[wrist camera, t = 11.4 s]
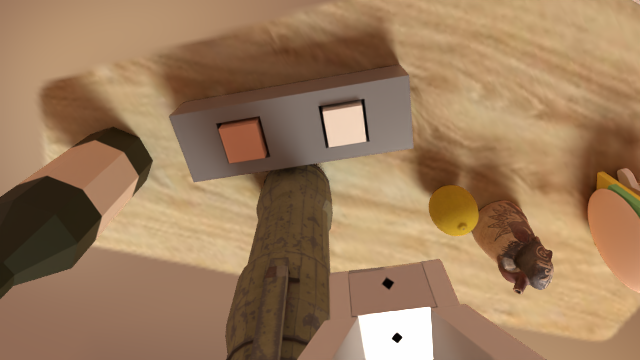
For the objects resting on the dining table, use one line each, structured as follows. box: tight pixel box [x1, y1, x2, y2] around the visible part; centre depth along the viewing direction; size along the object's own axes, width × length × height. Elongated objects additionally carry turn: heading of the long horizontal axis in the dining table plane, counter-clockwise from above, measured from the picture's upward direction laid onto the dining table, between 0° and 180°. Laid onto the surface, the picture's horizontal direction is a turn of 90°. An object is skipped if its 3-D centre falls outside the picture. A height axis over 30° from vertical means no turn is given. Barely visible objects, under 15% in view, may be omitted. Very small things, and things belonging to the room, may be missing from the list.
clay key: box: [218, 116, 268, 164], centre depth 42 cm, size 4×4×4 cm
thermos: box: [225, 164, 333, 360], centre depth 34 cm, size 9×12×35 cm
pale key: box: [323, 99, 366, 147], centre depth 41 cm, size 4×4×4 cm
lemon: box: [429, 185, 479, 236], centre depth 46 cm, size 6×6×8 cm
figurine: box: [472, 201, 554, 294], centre depth 47 cm, size 7×7×12 cm
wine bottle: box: [0, 127, 153, 299], centre depth 34 cm, size 8×8×30 cm
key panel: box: [169, 65, 413, 182], centre depth 43 cm, size 25×8×5 cm, turn 100°
